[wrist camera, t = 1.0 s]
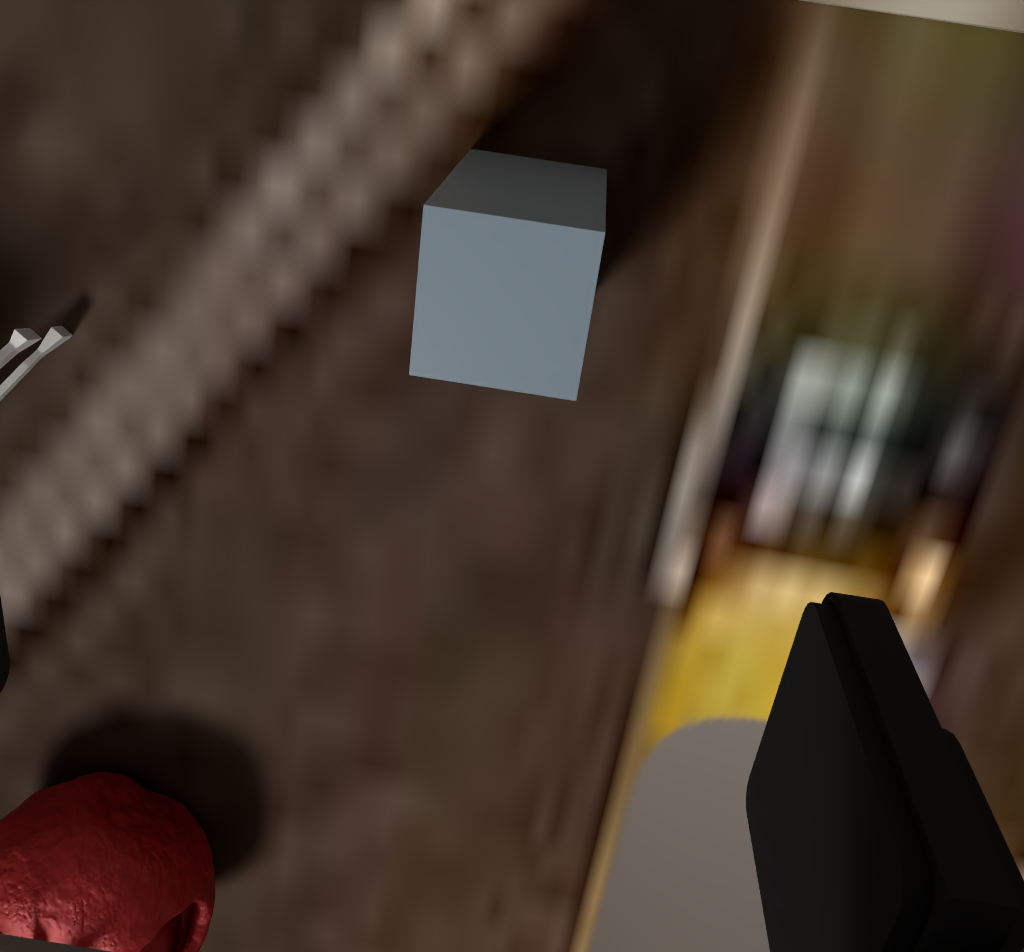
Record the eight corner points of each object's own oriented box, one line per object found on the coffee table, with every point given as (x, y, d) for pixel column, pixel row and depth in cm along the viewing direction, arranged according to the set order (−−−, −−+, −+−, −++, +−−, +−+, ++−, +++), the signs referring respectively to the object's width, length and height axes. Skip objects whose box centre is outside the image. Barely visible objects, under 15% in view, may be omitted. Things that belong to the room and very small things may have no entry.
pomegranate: (-26, 813, 43) (-177, 1009, 35) (109, 709, 40) (-23, 901, 31) (143, 937, 46) (41, 1146, 38) (284, 851, 42) (205, 1062, 34)
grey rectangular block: (607, 168, 28) (605, 232, 21) (584, 301, 30) (576, 401, 23) (471, 148, 28) (423, 204, 21) (457, 282, 30) (409, 374, 23)
